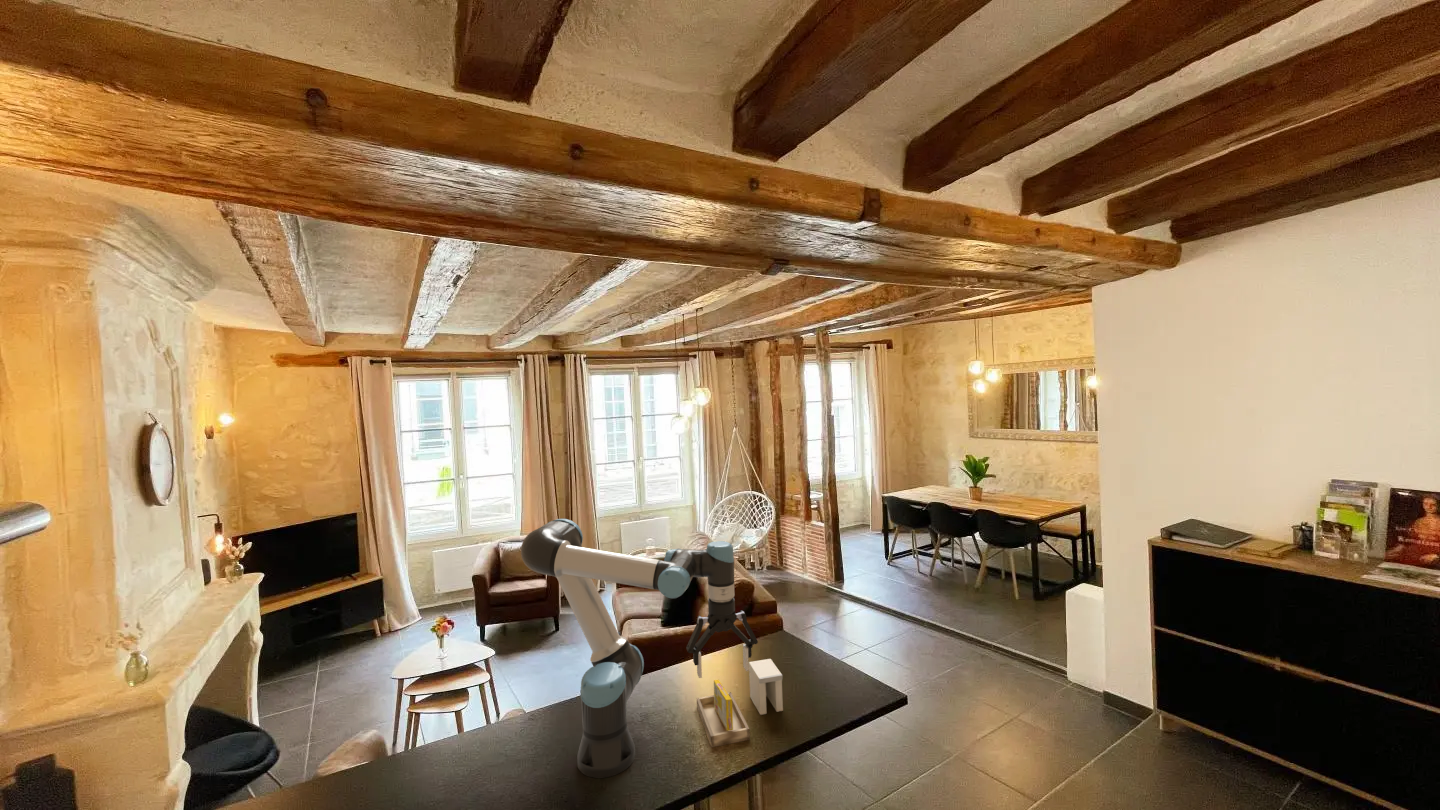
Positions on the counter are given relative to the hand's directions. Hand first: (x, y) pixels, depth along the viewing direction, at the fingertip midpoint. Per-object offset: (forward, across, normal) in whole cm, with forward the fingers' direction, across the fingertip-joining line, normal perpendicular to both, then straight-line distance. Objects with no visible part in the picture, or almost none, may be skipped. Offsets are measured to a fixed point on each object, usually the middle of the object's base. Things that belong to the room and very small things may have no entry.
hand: (722, 672), depth 158 cm
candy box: (+16, +1, +4) cm, 16 cm away
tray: (+18, +1, +5) cm, 18 cm away
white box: (+18, +16, +10) cm, 26 cm away
